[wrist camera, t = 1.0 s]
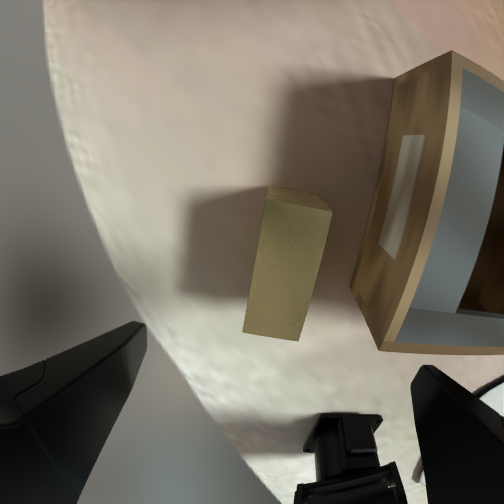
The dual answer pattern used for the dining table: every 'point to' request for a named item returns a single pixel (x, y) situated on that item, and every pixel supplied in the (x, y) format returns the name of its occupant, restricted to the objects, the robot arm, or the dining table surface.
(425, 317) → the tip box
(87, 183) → the dining table surface
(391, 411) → the dining table surface
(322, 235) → the wooden block
